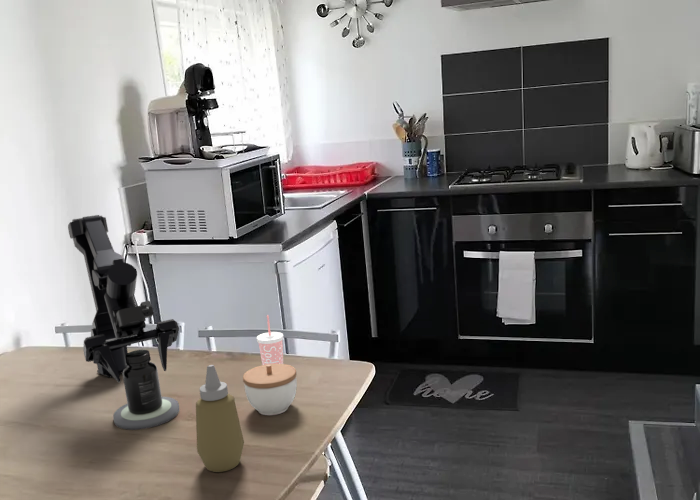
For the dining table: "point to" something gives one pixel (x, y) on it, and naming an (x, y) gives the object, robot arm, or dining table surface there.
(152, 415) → the plate
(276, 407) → the lidded jar
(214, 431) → the squeeze bottle
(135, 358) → the supplement bottle
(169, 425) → the dining table surface
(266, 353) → the beverage cup
